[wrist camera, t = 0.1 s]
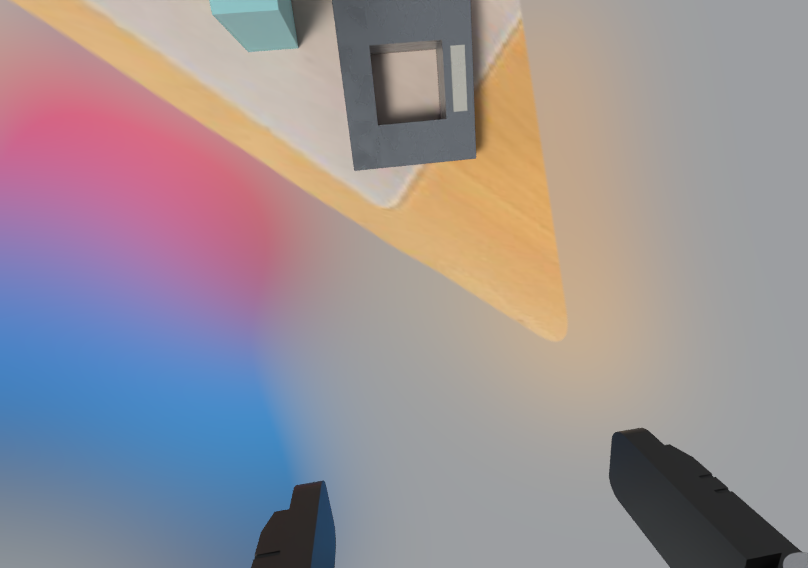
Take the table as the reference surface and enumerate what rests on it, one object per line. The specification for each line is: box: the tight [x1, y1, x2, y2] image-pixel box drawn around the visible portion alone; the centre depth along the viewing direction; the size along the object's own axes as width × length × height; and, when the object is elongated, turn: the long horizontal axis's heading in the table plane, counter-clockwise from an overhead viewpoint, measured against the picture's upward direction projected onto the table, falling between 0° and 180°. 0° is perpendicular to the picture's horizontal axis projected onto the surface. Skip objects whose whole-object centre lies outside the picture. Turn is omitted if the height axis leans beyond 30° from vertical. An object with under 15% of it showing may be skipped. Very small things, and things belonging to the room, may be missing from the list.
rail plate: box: [332, 0, 476, 171], centre depth 32 cm, size 13×11×3 cm
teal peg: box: [209, 0, 298, 52], centre depth 27 cm, size 4×4×8 cm
